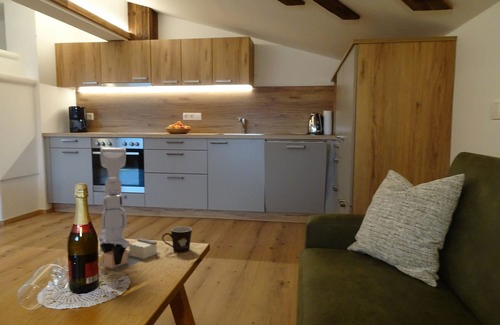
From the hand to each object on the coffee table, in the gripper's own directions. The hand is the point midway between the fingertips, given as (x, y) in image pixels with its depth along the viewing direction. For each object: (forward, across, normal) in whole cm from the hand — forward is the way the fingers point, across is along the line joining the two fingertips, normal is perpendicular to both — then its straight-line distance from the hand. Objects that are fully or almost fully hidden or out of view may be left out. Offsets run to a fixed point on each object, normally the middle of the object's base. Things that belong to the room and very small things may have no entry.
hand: (113, 262), depth 131 cm
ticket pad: (+1, 0, +14) cm, 14 cm away
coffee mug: (+2, +8, +26) cm, 28 cm away
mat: (+2, 0, +8) cm, 9 cm away
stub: (+1, 0, +1) cm, 1 cm away
